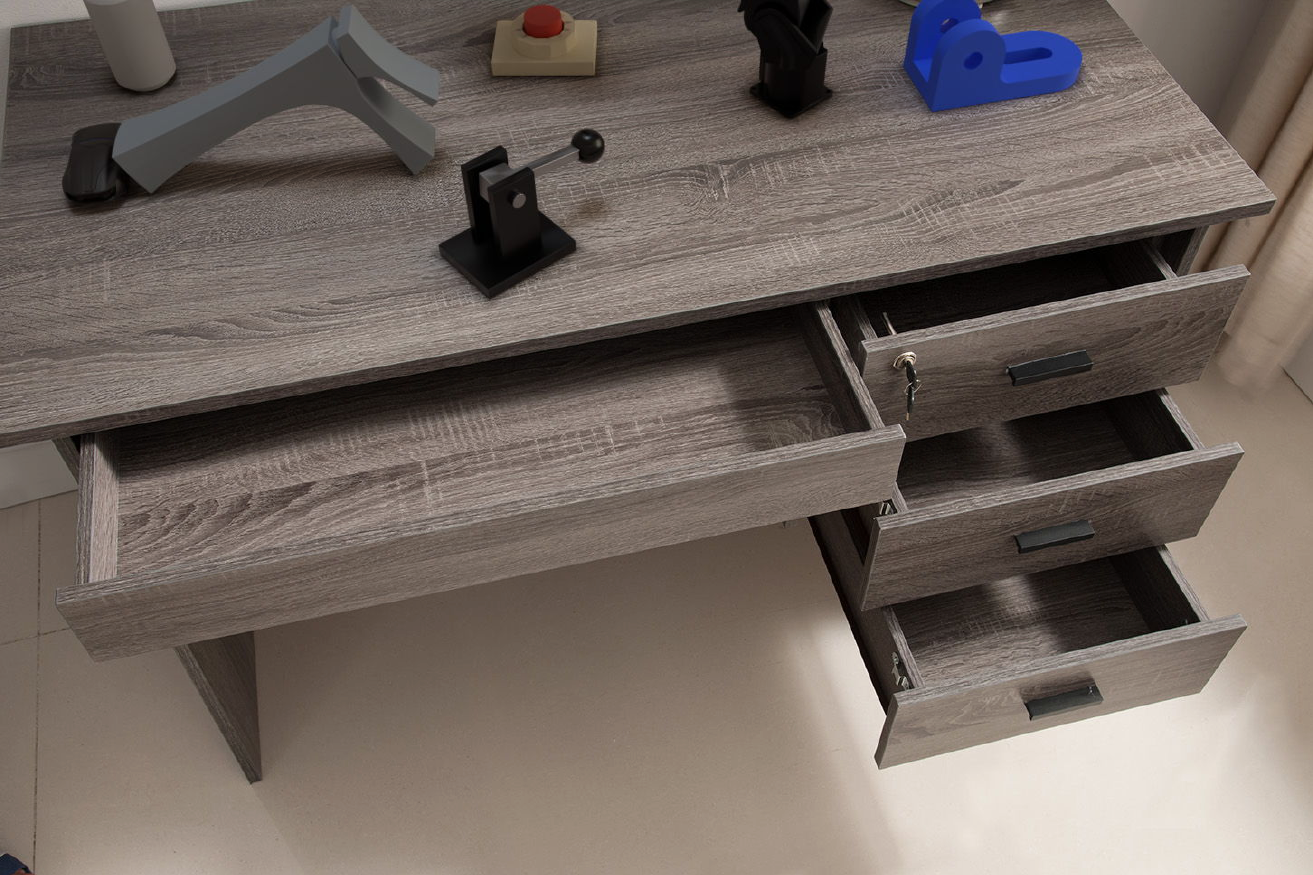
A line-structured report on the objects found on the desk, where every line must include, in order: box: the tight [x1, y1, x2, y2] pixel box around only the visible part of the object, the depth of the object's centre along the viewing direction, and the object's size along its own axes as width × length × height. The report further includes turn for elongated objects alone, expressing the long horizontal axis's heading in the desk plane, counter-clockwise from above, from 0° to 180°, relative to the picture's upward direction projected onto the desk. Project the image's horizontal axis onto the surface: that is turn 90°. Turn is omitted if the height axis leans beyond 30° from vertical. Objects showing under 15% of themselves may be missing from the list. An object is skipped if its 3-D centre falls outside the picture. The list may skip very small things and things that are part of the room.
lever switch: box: [438, 144, 577, 300], centre depth 111 cm, size 10×8×10 cm
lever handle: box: [479, 127, 606, 202], centre depth 111 cm, size 13×3×3 cm, turn 131°
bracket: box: [902, 0, 1083, 113], centre depth 128 cm, size 18×8×9 cm, turn 104°
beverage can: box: [82, 0, 177, 92], centre depth 128 cm, size 6×6×12 cm
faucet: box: [112, 3, 441, 194], centre depth 120 cm, size 6×17×30 cm
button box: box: [490, 9, 598, 77], centre depth 134 cm, size 11×8×4 cm
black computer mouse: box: [61, 122, 130, 206], centre depth 121 cm, size 6×12×4 cm, turn 9°
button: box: [523, 4, 562, 38], centre depth 132 cm, size 4×4×2 cm
